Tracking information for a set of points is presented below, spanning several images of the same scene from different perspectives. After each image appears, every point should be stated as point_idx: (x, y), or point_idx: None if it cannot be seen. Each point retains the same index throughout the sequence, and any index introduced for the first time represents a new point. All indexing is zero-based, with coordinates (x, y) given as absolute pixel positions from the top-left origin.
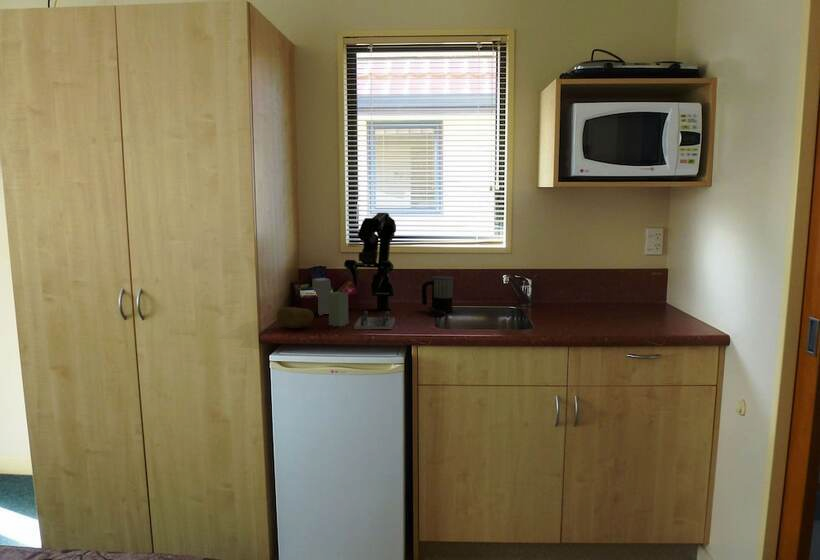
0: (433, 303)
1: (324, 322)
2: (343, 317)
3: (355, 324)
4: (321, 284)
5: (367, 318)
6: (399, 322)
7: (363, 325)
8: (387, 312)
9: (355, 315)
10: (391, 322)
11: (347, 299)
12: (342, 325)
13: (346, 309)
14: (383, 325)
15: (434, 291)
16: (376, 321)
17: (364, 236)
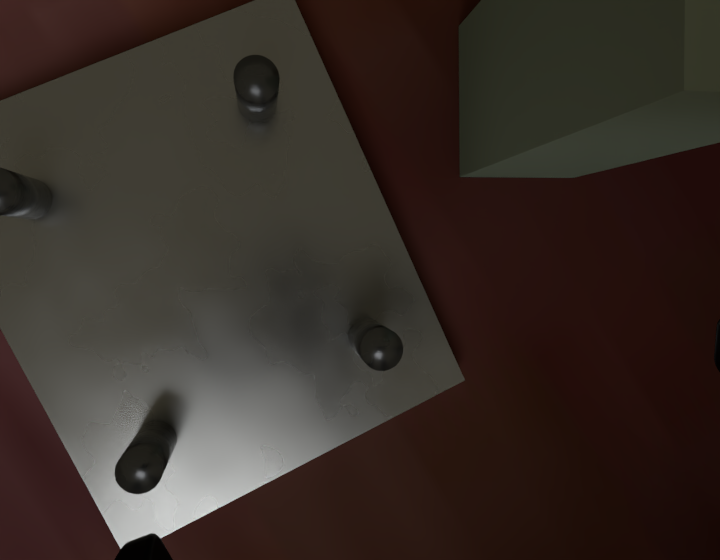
0: None
1: None
2: (491, 67)
3: (316, 59)
4: None
5: (348, 338)
6: (36, 489)
7: (216, 55)
8: (123, 455)
9: (598, 516)
10: (16, 323)
11: (600, 104)
12: (460, 70)
13: (527, 111)
14: (15, 152)
15: None
16: (199, 287)
17: None
